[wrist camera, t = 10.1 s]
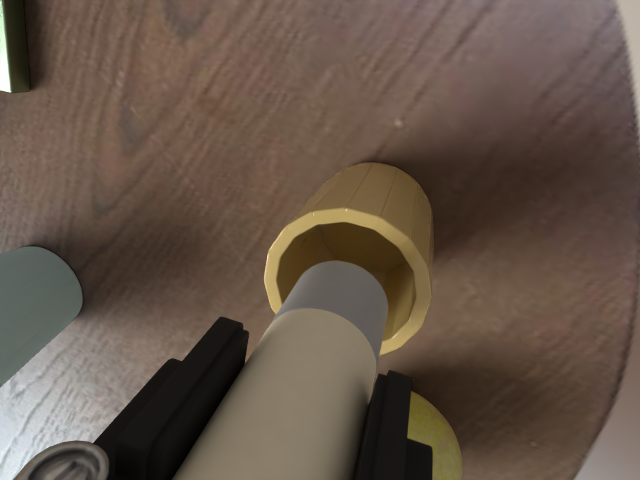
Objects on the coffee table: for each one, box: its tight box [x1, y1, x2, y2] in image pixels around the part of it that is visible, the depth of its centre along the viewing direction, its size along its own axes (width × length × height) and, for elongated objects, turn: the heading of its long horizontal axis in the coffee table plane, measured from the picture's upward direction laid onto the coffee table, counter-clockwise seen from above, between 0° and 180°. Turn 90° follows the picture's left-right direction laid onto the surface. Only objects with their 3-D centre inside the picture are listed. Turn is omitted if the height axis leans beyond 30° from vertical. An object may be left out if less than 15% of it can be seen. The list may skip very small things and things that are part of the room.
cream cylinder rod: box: [172, 261, 388, 480], centre depth 10 cm, size 3×3×10 cm
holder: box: [264, 162, 434, 356], centre depth 19 cm, size 6×6×7 cm
